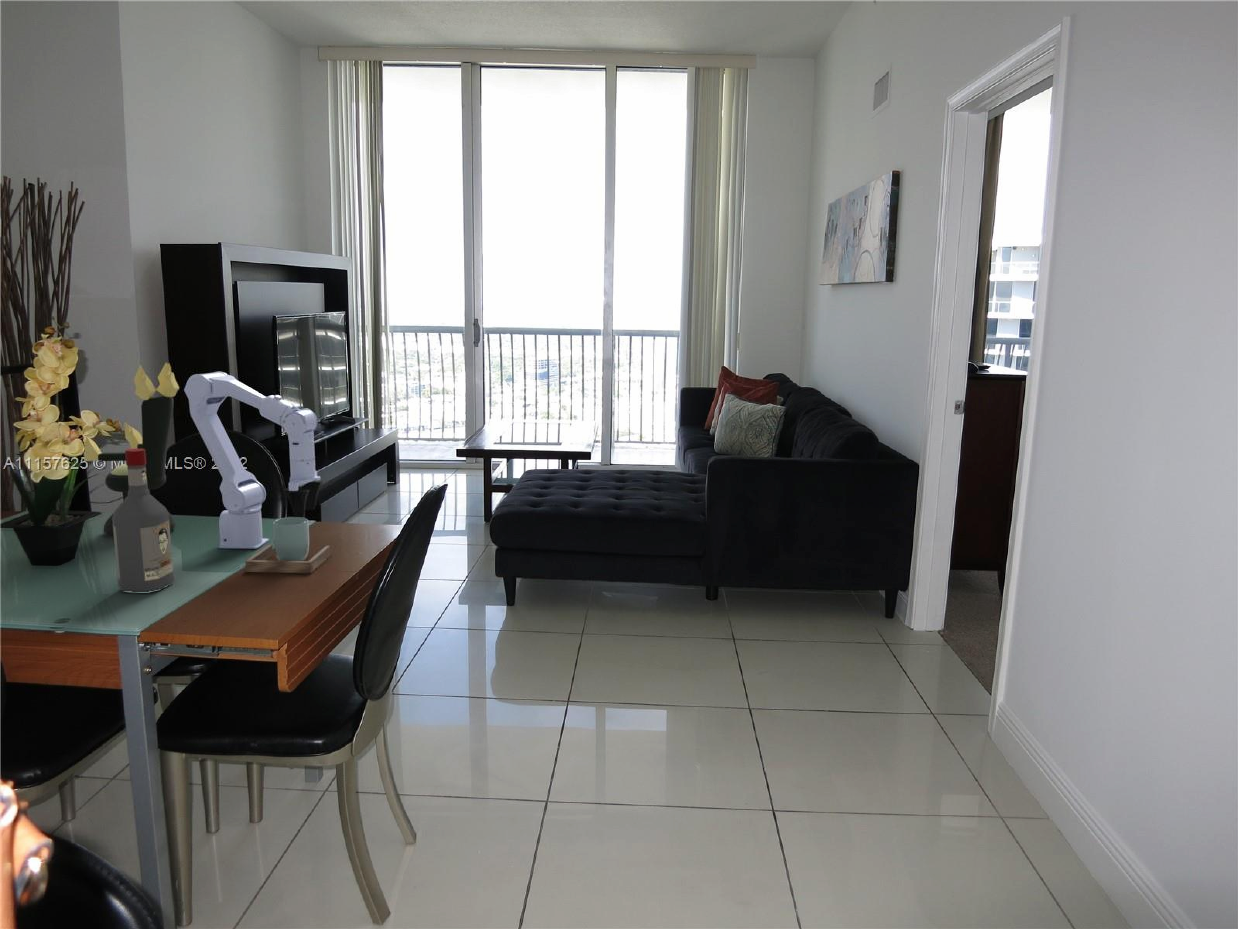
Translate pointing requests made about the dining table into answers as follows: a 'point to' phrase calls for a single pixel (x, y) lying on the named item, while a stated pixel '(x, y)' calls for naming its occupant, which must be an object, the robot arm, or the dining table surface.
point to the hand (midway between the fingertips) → (304, 513)
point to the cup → (291, 538)
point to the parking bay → (284, 562)
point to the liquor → (141, 533)
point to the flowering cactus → (143, 437)
